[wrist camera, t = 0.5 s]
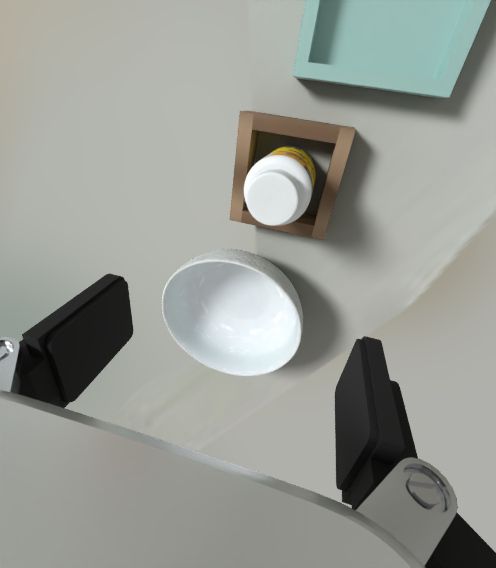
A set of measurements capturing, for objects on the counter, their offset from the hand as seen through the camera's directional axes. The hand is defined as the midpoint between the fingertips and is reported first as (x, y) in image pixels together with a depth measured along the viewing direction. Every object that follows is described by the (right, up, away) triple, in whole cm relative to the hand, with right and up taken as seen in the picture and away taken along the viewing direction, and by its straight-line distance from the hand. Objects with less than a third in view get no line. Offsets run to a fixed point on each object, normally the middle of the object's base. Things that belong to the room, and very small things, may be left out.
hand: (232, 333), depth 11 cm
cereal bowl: (0, +1, +28) cm, 28 cm away
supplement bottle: (+5, +13, +18) cm, 23 cm away
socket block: (+5, +13, +18) cm, 23 cm away
